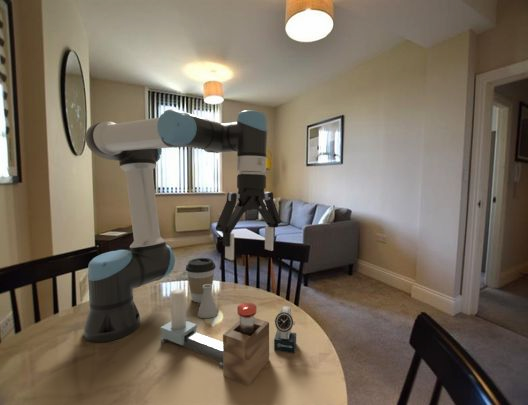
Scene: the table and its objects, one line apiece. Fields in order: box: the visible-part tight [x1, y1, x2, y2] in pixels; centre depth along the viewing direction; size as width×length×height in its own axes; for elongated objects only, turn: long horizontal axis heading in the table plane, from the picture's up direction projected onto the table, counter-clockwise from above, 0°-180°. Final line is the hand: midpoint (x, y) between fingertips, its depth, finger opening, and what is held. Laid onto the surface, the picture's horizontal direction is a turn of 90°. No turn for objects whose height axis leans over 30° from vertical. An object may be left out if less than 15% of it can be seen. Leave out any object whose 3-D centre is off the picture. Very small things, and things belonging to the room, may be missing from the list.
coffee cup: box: [185, 257, 216, 304], centre depth 102 cm, size 11×11×15 cm
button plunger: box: [237, 302, 257, 336], centre depth 64 cm, size 5×5×6 cm
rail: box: [160, 331, 223, 368], centre depth 72 cm, size 22×6×3 cm, turn 62°
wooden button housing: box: [222, 317, 270, 387], centre depth 64 cm, size 7×10×10 cm
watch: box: [273, 305, 297, 354], centre depth 72 cm, size 6×8×11 cm
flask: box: [197, 284, 219, 319], centre depth 90 cm, size 7×7×10 cm
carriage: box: [160, 288, 198, 346], centre depth 75 cm, size 8×6×13 cm
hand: (250, 254), depth 70 cm, fingers open, 13 cm apart
